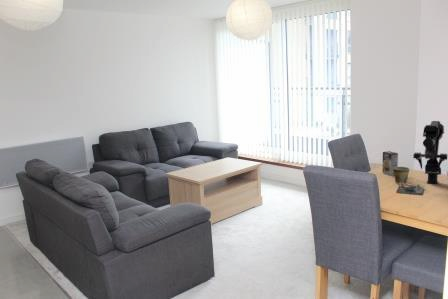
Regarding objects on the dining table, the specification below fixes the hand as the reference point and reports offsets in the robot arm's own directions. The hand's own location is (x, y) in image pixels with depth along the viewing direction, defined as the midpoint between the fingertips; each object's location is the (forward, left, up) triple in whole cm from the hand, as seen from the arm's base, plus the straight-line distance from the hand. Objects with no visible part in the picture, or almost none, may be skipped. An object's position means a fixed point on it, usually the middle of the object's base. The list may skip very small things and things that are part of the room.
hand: (429, 169), depth 246 cm
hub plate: (+11, -10, -12) cm, 19 cm away
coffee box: (-30, -28, -12) cm, 43 cm away
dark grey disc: (+10, -11, -10) cm, 18 cm away
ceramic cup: (-8, -18, -12) cm, 23 cm away
